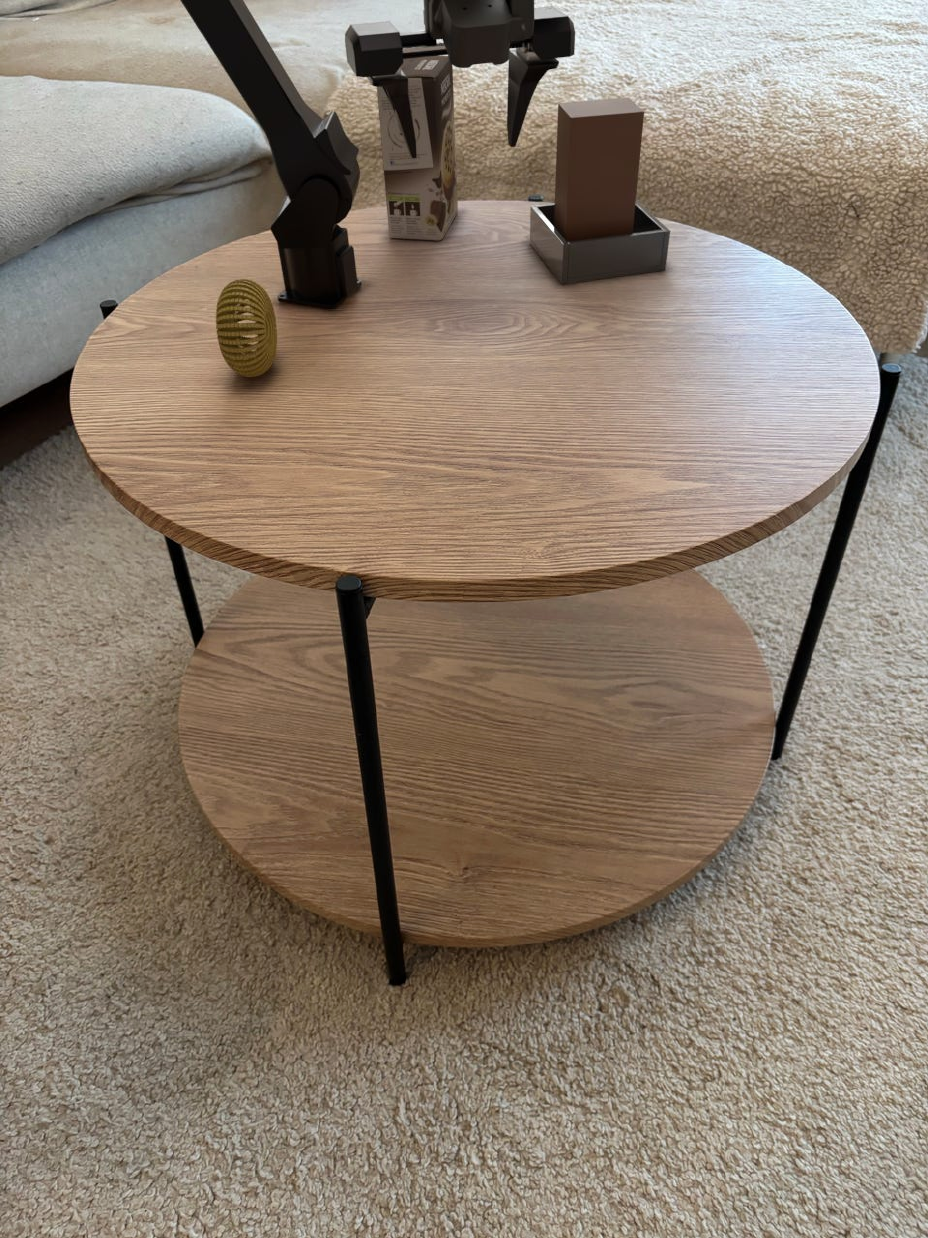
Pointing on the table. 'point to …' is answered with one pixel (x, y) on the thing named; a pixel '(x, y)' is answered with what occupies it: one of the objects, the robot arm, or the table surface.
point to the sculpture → (246, 328)
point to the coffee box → (421, 153)
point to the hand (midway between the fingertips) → (463, 151)
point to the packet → (597, 168)
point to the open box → (600, 248)
